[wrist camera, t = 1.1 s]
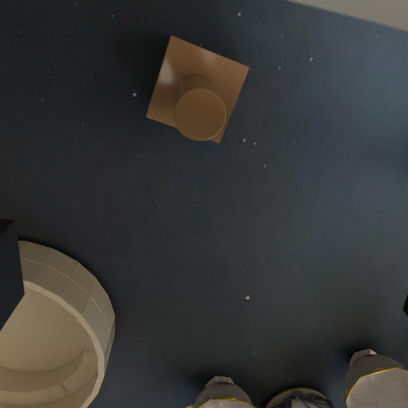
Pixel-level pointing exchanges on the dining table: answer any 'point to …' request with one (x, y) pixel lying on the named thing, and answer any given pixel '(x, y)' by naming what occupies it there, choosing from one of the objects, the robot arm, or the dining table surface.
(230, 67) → the brown wooden stamp
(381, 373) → the chinaware
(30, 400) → the bowl
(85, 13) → the dining table surface
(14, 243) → the robot arm
